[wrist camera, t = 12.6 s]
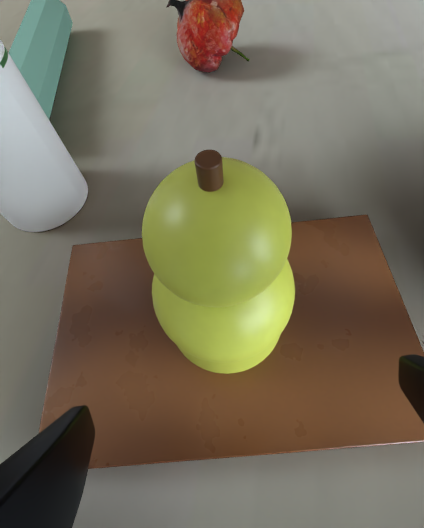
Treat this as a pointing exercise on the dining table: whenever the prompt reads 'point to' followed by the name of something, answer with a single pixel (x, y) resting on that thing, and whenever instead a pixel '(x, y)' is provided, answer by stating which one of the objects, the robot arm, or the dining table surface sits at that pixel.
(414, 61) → the dining table surface
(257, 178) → the pear
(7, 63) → the cylindrical container
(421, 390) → the robot arm
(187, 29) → the red rounded lumpy piece
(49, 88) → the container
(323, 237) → the board
